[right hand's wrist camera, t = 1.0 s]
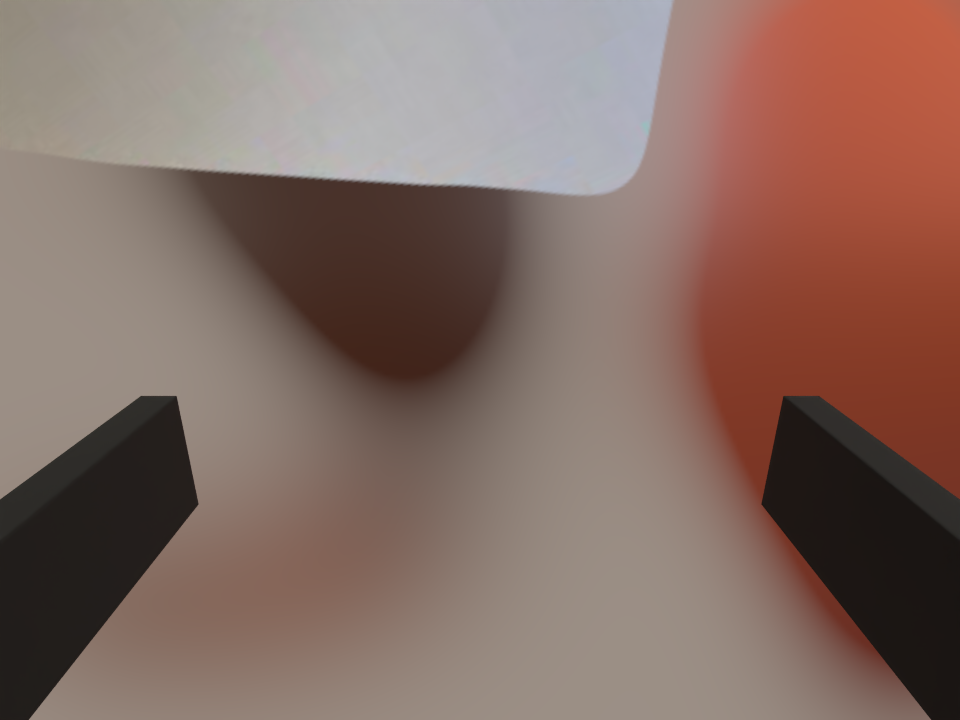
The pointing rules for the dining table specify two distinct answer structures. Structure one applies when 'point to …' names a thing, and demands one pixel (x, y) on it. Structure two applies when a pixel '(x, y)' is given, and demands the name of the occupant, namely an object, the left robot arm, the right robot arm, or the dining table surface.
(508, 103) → the dining table surface
